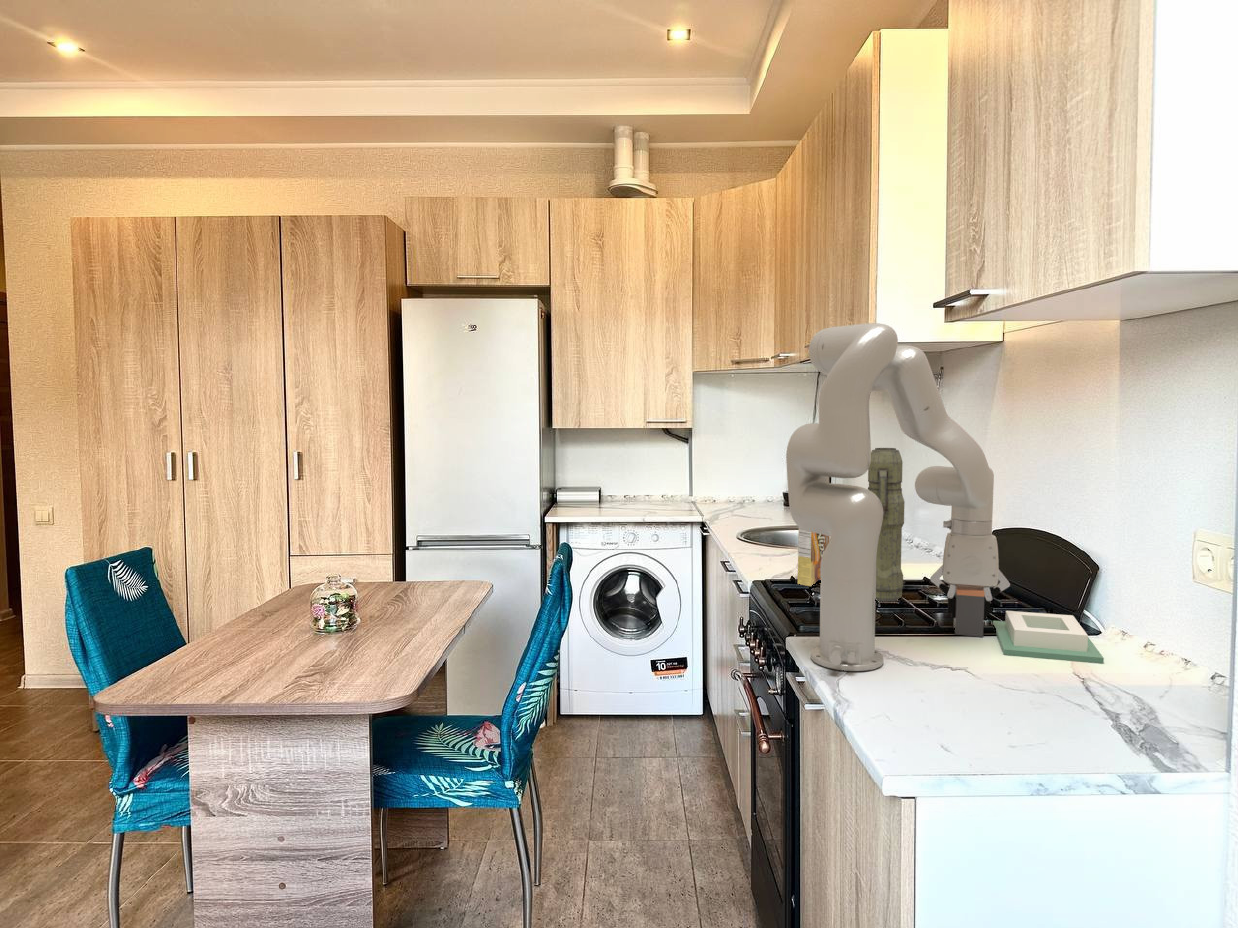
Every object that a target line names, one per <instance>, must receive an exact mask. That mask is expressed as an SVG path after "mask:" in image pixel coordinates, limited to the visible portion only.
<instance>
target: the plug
mask: <svg viewBox="0 0 1238 928" xmlns="http://www.w3.org/2000/svg"><path fill="white" fill-rule="evenodd" d="M984 595H985V591H984V589H983V588H982V587H974V586H960V585H957V587H956V591H955V598H956V613H955V618H953V625H952V626H953V629H954V628H955V630H954V634H955V635H957V636H969V637H979V638H981V637H982V638H983V637H984Z"/></svg>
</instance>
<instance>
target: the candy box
mask: <svg viewBox="0 0 1238 928" xmlns="http://www.w3.org/2000/svg"><path fill="white" fill-rule="evenodd" d="M797 538H798V540H797V541H798V543H797V550H798V551H797V585H799V584H800V585H801V586H806V587H812V585H813V584H815V583H816V582H817V581H818V580H821V574H820V568H821V559H822V555H823V553H824V551H825V549H826V547H827V545H828V543H829V541H830V536H827V535H823V534H818V533H813V532H809V531H805V530H803V529H801V528H800V527H798V537H797ZM813 586H814V585H813Z"/></svg>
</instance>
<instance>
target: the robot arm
mask: <svg viewBox="0 0 1238 928" xmlns="http://www.w3.org/2000/svg"><path fill="white" fill-rule="evenodd" d="M898 341H899V339H898V335H897V332H896V330H895V329H894V328H893V327H892V326H890V325H888V324H885V323H879V322H877V323H876V322H875V323H874V322H869V323H867V322H866V323H858V324H857V323H855V324H850V325H849V324H848V325H840V326H832V327H826V328H823V329H821V330H819V331H817V332H816V333H815V334H814V336H813V337H812V338H811V340H810V342H809V345H808V357H809V360H810V362H811V363H812V365H813V367H814V368H815V369H816V370H817V371H818V372H819V373H821V374H822V375H825V376H826V377H825V378H824V380H823V383H822V384H821V388H820V390H819V396H818V423H815V422H811V423H806V424H803V425H800V426H799V427H797V428H796V429H795V430H794V431H793V433H792V435H791V436H790V437H789V441H788V443H787V446H786V453H785V454H786V455H785V457H786V477H787V478H786V479H787V492H788V493H787V494H788V505H789V511H790V512H789V513H790V516H791V518H792V520H793V522H794V523H795V525H796V526H797V527H798V528H799V527H800V528H801V529H803V530H805V531H809V532H813V533H818V534H823V535H827V536H829V537H830V538H829V543H828V545H827V547H826V549H825V551H824V553H823V555H822V559H821V568H820V574H821V583H820V588H819V589H820V591H819V592H820V593H819V594H820V595H819V599H820V601H819V645H818V646H815V647H813V648H812V649H811V651H810V658H811V660H812V661H813V662H814V663H815V664H817V665H819V666H822V667H824V668H827V669H831V670H837V671H843V670H844V671H846V672H847V671H848V672H865V671H873V670H876V669H878V668H881V667H882V666H883V665H884V659H885V657H884V655H883V654H882V653H881V652H880V651H878V650H877V649H875V646H876V645H875V644H876V639H875V638H876V601H875V598H876V555H877V545H878V539H879V534H880V530H881V526H882V521H883V507H882V503H881V501H880V499H879V498H878V497H877V496H876V495H875V494H874V493H873V492H871V491H870V490H868V488H864V487H862V486H858V485H852V484H851V485H850V484H844V483H843V484H842V483H831V482H830V478H836V479H855V478H859V477H862V476H863V475H865V474H866V473H867V472H868V468H869V466H870V461H871V452H872V443H871V441H872V440H871V424H870V422H871V421H870V398H871V392H886V394H887V395H888V398H889V401H890V403H891V405H892V408H893V411H894V414H895V416H896V418H897V421H898V424H899V427H900V429H901V431H902V433H903V434H905V435H906V436H907V437H909V438H910V439H912V440H914V441H915V442H917V443H919V444H921V445H923V446H925V447H928V448H929V449H932V450H934V452H937V453H938V454H940V455H941V456H942V457H944V458H945V459H946V460H947V461H948V462H949V463H950V464H951V465H952V466H943V465H942V466H941V465H933V466H932V465H931V466H929V467H928V466H927V467H926V468H924V469H923V470H921V471H920V472H919V473H918V475H917V476H916V479H915V481H914V489H915V491H916V494H917V495H918V497H919V498H920V499H921V500H922V501H924V502H926V503H929V504H931V505H932V504H933V505H938V506H949V507H951V515H950V516H951V518H949V520H944V521H943V525H942V526H943V527H942V528H945V529H949V531H950V532H947V533H946V534H947V535H946V537H945V542H944V549H943V556H942V557H943V558H942V564H941V566H939V568H938V569H937V570H936V571H935V572H934V573H933V574H932V575H931V576H930V582H931V583H933V584H934V585H935V586H936V587H938V588H939V589H940V590H941V591H942V592H943V593H944V595H946V596H947V614H950V616H951V619H954V618H955V613H956V598H955V591H956V587H957V585H960V586H974V587H982V588H983V589H984V591H985V595H984V621H985V622H986V621H987V617H990V616H991V601H993V599H994V598H995V597H997V596H998V595H999V594H1000V593H1001V592H1003V591H1005V590H1007V589H1008V588H1009V587H1010V586H1011V583H1010V582H1009V580H1008V579H1007V577H1006V576H1005V575H1004V574H1003V572H1002V571H1001V570H1000V569H999V568H1000V566H999V563H1000V562H999V561H1000V560H999V547H998V541H997V537H996V536H995V535H994V534H993V513H994V512H993V511H994V510H993V508H994V504H993V503H994V487H995V486H994V485H995V484H994V482H995V480H994V478H995V475H994V471H993V469H992V468H990V466H989V463H988V461H987V457H986V455H985V453H984V450H982V447H981V446H980V445H979V444H978V442H977V441H976V440H975V439H974V438H973V437H972V436H971V435H970V434H969V433H968V432H967V431H966V430H965V429H964V428H963V427H962V426H961V425H960V424H958V423H957V422H956V421H954V419H953V418H951V417H950V416H949V414H948V413H947V410H946V407H945V405H944V402H943V400H942V399H943V398H942V397H941V394H940V390H939V388H938V385H937V382H936V380H935V379H936V378H935V377H934V376H935V375H934V373H933V371H932V368H931V365H930V362H929V360H928V358H927V355H926V353H925V352H924V351H923V350H922V349H921V348H919V347H916V346H912V345H909V344H908V345H905V344H903V345H900V344H899V342H898ZM941 577H942V580H943V581H942V580H941V579H940V578H941ZM947 584H948V585H947ZM990 588H991V589H990Z"/></svg>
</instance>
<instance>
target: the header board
mask: <svg viewBox="0 0 1238 928" xmlns="http://www.w3.org/2000/svg"><path fill="white" fill-rule="evenodd" d="M993 625H994V626H995V628H996V633H995V635H996V638H997V640H998V643H999V646H1000V648H1001V650H1002V653H1003V655H1004V656H1013V657H1023V658H1024V657H1026V658H1034V659H1035V658H1037V659H1048V660H1050V659H1051V660H1059V661H1069V662H1070V661H1073V662H1082V663H1092V662H1094V663H1095V664H1104V659H1105V658H1104V657H1103V655H1102V654H1101V652H1100V651H1099V650H1098V648H1097V647H1096V645H1095V644H1094V643H1093V642H1092V640H1091V639H1090V637H1089V635H1088V634H1087V632H1086V630H1085V629H1084V628H1083V627H1082V626H1081V625H1080V623H1079V622H1078V620H1077V619H1076V617H1075V616H1074V615H1073V614H1072V615H1071V614H1056V613H1042V612H1028V611H1016V610H1015V611H1014V610H1005V620H1004V621H1003V620H992V626H993ZM1094 663H1093V664H1094Z"/></svg>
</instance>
